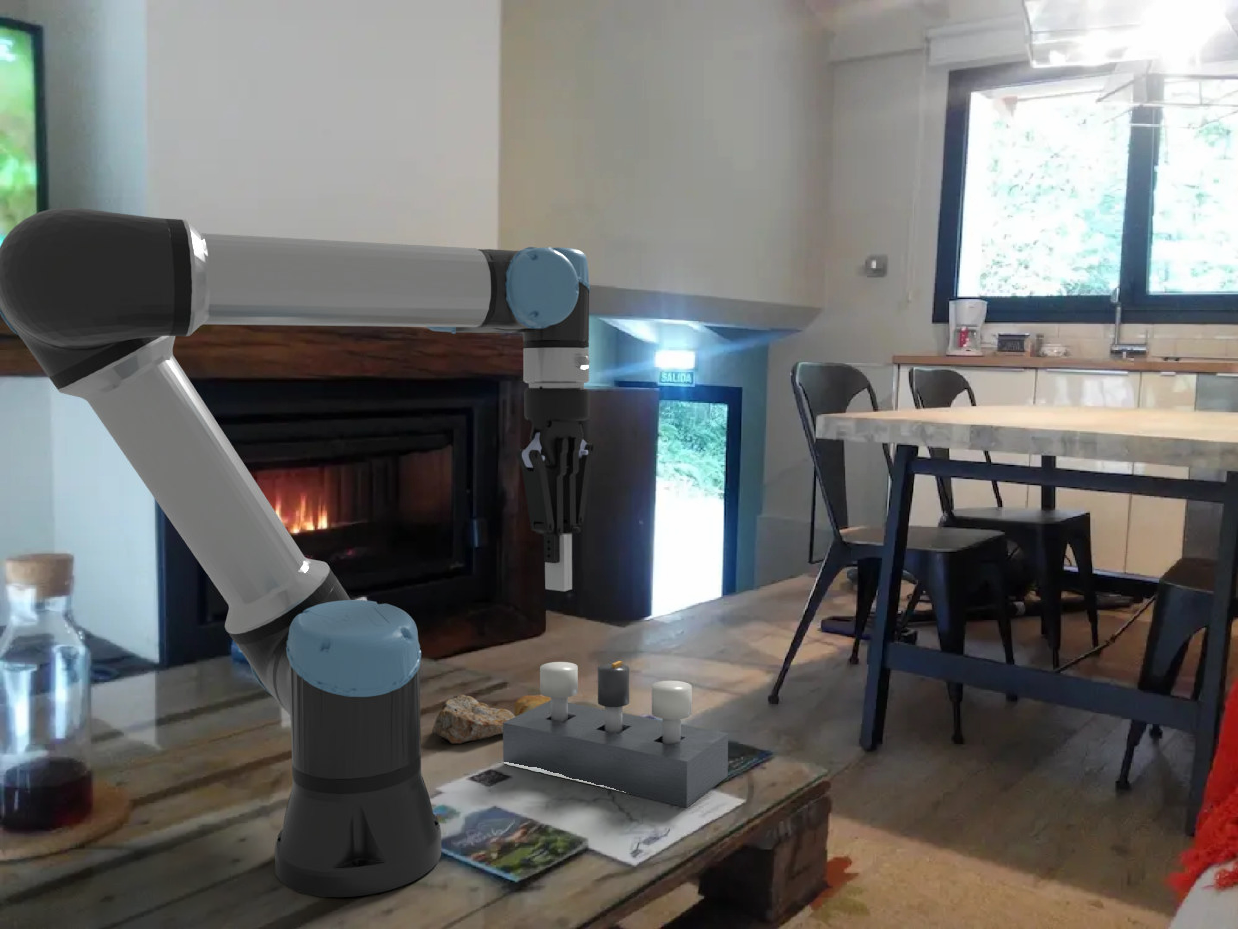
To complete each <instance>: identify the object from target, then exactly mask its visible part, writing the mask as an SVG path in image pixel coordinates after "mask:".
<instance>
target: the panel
mask: <svg viewBox="0 0 1238 929" xmlns="http://www.w3.org/2000/svg"><path fill="white" fill-rule="evenodd" d="M502 751H503V753H502V758H503V759H502V760H503V762H509V763H514V764H519V765H524V766H528V767H537V768H541V769H544V770H547V771H550V772H553V773H559V774H562V775H564V776H566V777H569V778H572V779H579V780H583V781H587V782H591V783H594V784H596V785H604V786H607V787H610V788H614V789H616V790H619V791H624V792H626V793H629V794H628V795H630V794H631V795H632V796H634V795H635V797H639V798H643V797H644V798H643V799H646V800H647V799H648V800H652V801H655V802H659V803H660V802H661V803H664V804H668V805H672V806H676V807H681V808H686V809H688V808H689V807H690V806H691V805H693V804H694V803H695V802H696V801H698V800H699V799H700V798H702V797H703V796H705V795H706V794H707V793H708V792H710V791H711V790H712V789H714V788H715V787H716V786H717V785H719V784H720V783H722V782H723V781H724V780H726V778H728V775H729V772H728V770H729V733H728V732H723V731H717V730H712V729H707V728H703V727H702V728H701V727H696V726H692V725H687V724H682V723H681V741H679V742H678V743H676V744H674V745H669V744H664V743H663V720H662V719H656V718H649V717H645V716H640V715H634V714H630V713H623V712H622V732H621V733H619V734H615V733H610V732H606V731H605V708H604V709H603V708H599V707H594V706H593V707H592V706H588V705H583V704H577V703H571V702H568V720H567V721H565V722H563V723H561V722H557V721H552V720H551V700H550V701H548V702H546V703H544V704H542V705H539V706H537V707H535V708H533V709H531V710H529V711H527V712H524V713H522V714H520V715H518V716H516V717H514V718H512V719H510V720H507V721H505V722H503V734H502ZM503 762H502V763H503ZM626 793H625V794H626ZM631 795H630V796H631Z"/></svg>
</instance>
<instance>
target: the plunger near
mask: <svg viewBox="0 0 1238 929" xmlns="http://www.w3.org/2000/svg"><path fill="white" fill-rule="evenodd" d="M692 690H693V686H692V685H691V684H690V683H688V682H685V681H681V680H662V681H661V680H660V681H656V682H653V684H651V715H652V716H653V717H655V718H658V719H660V720H662V721H663V743H664V744H669V745H674V744H676V743H678V742H679V741H681V724H682V723H681V721H682V720H683V719H686V718H690V717H691V716H692V711H693V710H692V709H693V708H692V706H693V705H692V704H693V701H692V700H693V698H692V697H693V695H692V693H693V692H692Z"/></svg>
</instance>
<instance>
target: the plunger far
mask: <svg viewBox="0 0 1238 929" xmlns="http://www.w3.org/2000/svg"><path fill="white" fill-rule="evenodd" d="M578 668H579V667H578V665H577V664H575V663H573V662H569V661H568V662H567V661H553V662H548V663H547V662H546V663H544V664H541V665H540V667H539V678H540V680H539V681H540V682H539V683H540V684H539V686H540V687H539V688H540V689H539V690H540V692H539V693H540V695H543V696H546V697H551V720H552V721H557V722H561V723H563V722H565V721H567V720H568V703H569V701H568V700H569V699H568V698H571V697H573V696H576V695H577V694H578V692H579V690H578V688H579V679H578V677H579V676H578V674H579V672H578V670H579V669H578Z"/></svg>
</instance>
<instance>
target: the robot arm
mask: <svg viewBox="0 0 1238 929" xmlns="http://www.w3.org/2000/svg"><path fill="white" fill-rule="evenodd" d="M588 265H589V264H588V258H587V256H586V254H585V253H584V252H583V251H581V250H579V249H575V248H571V247H546V246H545V247H532V246H531V247H530V246H528V247H525V248H523V249H521V250H508V249H507V250H506V249H490V248H488V249H487V248H486V249H482V248H481V249H479V248H478V249H477V248H475V247H473V248H472V247H457V246H439V245H438V246H436V245H420V244H419V245H418V244H403V243H402V244H401V243H384V242H382V243H381V242H366V241H365V242H364V241H348V240H330V239H328V240H327V239H326V240H325V239H310V238H309V239H308V238H291V237H276V236H275V237H274V236H255V235H239V234H238V235H237V234H222V233H221V234H220V233H203V232H202V233H201V232H200V231H198V230H197V229H196V228H194V226H193V225H192V224H190V223H189V221H187V220H186V219H181V218H180V219H178V218H165V217H164V218H162V217H153V216H152V217H151V216H142V215H135V214H126V213H117V212H110V211H103V210H99V209H98V210H97V209H90V208H82V207H59V208H50V209H47V210H46V209H45V210H42V211H39V212H36V213H34V214H33V215H30V216H28V217H26V218H24V219H23V220H21V221H20V222H19V223H17V225H15V226H14V227H13V228H12V229H11V230H10V231H9V232H8V233H7V235H6V236H5V237H4V239H3V240H2V242H1V244H0V316H1V318H2V319H3V321H4V322H5V323H6V325H7V326H8V327H9V329H10V330H11V331H12V332H13V333H14V334H16V335H17V336H19V338H20V339H21V340H22V342H23V343H24V344H25V345H26V347H27V349H28V350H29V351H30V353H31V355H32V356H33V357H34V358H35V360H36V361H37V362H38V364H39V366H40V367H41V369H42V370H43V371H44V373H45V375H47V376H48V379H49V380H50V381H51V383H52V384H53V386H54V387H55V388H56V390H57V391H58V392H59V393H61V394H63V395H69V396H73V397H77V398H81V399H83V400H85V401H87V403H88V404H89V406H90V407H91V409H92V410H93V411H94V413H95V414H96V416H97V418H98V419H99V420H100V422H101V424H103V426H104V428H105V429H106V431H108V433H109V435H110V436H111V437H112V438H113V441H114V442H115V443H116V445H117V447H119V449H120V450H121V452H122V453H123V455H124V457H125V458H126V459H127V461H128V462H129V464H130V465H131V466H132V467H133V470H134V471H135V472H136V474H137V476H138V477H139V478H140V479H141V481H142V483H143V484H144V485H145V487H146V488H147V490H148V491H149V492H150V494H151V495H152V497H153V498H154V500H155V501H156V502H157V504H158V506H159V507H160V508H161V510H162V511H163V512H164V514H165V515H166V517H167V518H168V519H169V521H170V522H171V524H172V525H173V527H174V528H175V530H176V531H177V532H178V534H179V535H180V538H182V540H183V541H184V542H185V544H186V546H187V547H188V548H189V550H190V551H191V553H192V554H193V556H194V557H195V559H196V560H197V562H198V563H199V564H200V566H201V567H202V569H203V570H204V571H205V573H206V574H207V575H208V578H209V579H210V580H211V582H212V583H213V585H214V586H215V588H216V589H217V590H218V592H219V593H220V595H221V596H222V597H223V599H224V601H225V602H226V603H227V605H228V611H227V615H226V620H225V622H224V628H225V631H226V632H227V633H228V635H229V636H230V638H231V639H232V640H233V642H234V643H235V645H236V647H237V648H238V649H239V651H241V654H242V655H243V656H244V657H245V659H246V660H247V662H248V664H249V666H250V669H251V672H252V675H253V676H254V678H255V679H256V681H257V682H258V683H259V685H260V686H261V687H262V688H263V689H264V690H265V691H266V692H267V693H269V694H270V695H271V696H272V697H273V698H274V699H275V700H276V701H277V702H278V703H279V705H280V706H281V707H282V709H284V710H285V711H286V712H287V714H288V715H289V717H290V730H291V731H290V734H291V735H290V736H291V738H290V740H291V763H292V764H291V769H292V772H291V773H292V787H291V791H290V795H289V797H288V801H287V805H286V809H285V813H284V819H283V824H282V829H281V830H280V832H279V833H278V835H277V838H276V841H275V845H274V868H275V875H276V877H277V879H278V880H279V881H280V883H282V884H283V885H284V886H286V887H287V888H289V889H291V890H294V891H296V892H299V893H302V894H305V895H310V896H317V897H323V898H324V897H325V898H326V897H327V898H349V897H351V898H352V897H361V896H362V897H363V896H368V895H373V894H374V895H375V894H380V893H383V892H387V891H391V890H395V889H397V888H400V887H403V886H405V885H408V884H410V883H412V882H414V881H416V880H419V878H421V877H423V876H425V875H426V874H427V873H429V872H431V870H432V869H433V868H434V867H435V866H436V865H437V864H438V862H439V861H440V859H441V856H442V829H441V825H440V822H439V819H438V817H437V816H436V814H435V813H434V810H433V805H432V802H431V797H430V795H429V792H428V789H427V786H426V783H425V780H424V777H423V775H422V757H421V756H422V752H421V751H422V746H421V745H422V744H421V743H422V742H421V735H422V734H421V729H422V728H421V678H420V676H421V673H420V672H421V671H420V670H421V669H420V666H421V662H422V661H421V659H422V650H421V649H420V648H421V645H420V643H419V635H418V628H417V624H416V622H415V620H414V619H413V618H412V616H410V615H409V613H408V612H406V611H405V610H403V609H401V608H399V607H397V606H395V605H392V604H389V603H377V601H373V600H363V599H351V598H350V596H349V595H348V594H347V591H346V590H345V588H344V587H343V586H342V584H341V583H340V581H339V579H338V577H337V576H336V575H335V574H334V573H333V571H332V569H331V568H330V566H329V565H328V563H327V562H325V561H321V560H316V559H311V558H307V557H305V555H304V554H303V552H302V551H301V549H300V548H299V546H298V545H297V543H296V541H295V540H294V539H293V537H292V535H291V534H290V533H289V531H288V530H287V528H286V526H285V524H284V523H283V522H282V520H281V519H280V517H279V516H278V514H277V513H276V511H275V510H274V508H273V507H272V505H271V503H270V501H269V500H268V499H267V498H266V496H265V494H264V492H263V491H262V489H261V488H260V486H259V485H258V482H256V480H255V479H254V477H253V476H252V474H251V473H250V471H249V469H248V468H247V466H246V465H245V464H244V462H243V460H242V459H241V457H240V456H239V454H238V452H237V451H236V450H235V448H234V446H233V445H232V442H230V440H229V439H228V437H227V436H226V434H225V433H224V431H223V430H222V428H221V427H220V425H219V424H218V423H219V422H217V421H216V419H215V417H214V415H213V414H212V412H211V411H210V410H209V408H208V406H207V405H206V403H205V402H204V400H203V399H202V397H201V396H200V394H199V393H198V392H197V390H196V388H195V387H194V385H193V384H192V382H191V380H190V379H189V378H188V376H187V375H186V373H185V371H184V370H183V368H182V367H181V366H180V364H179V362H178V361H177V359H176V357H175V356H174V352H173V350H174V348H173V347H174V344H175V340H176V337H190V336H191V335H192V334H193V333H194V332H195V331H196V330H198V328H200V327H201V326H202V325H223V326H224V325H226V326H227V325H228V326H229V325H237V326H238V325H241V326H243V325H244V326H247V325H248V326H316V327H317V326H320V327H321V326H324V327H325V326H327V327H329V326H330V327H331V326H334V327H335V326H336V327H342V326H343V327H344V326H345V327H421V328H423V327H424V328H427V329H428V330H431V331H433V332H440V333H441V332H443V333H445V332H446V333H451V334H453V335H454V334H456V333H470V334H471V333H475V334H478V333H479V334H481V333H482V334H483V333H484V334H488V333H489V334H492V333H494V334H495V333H503V334H504V333H512V334H522V340H523V346H522V347H523V353H522V354H523V360H522V361H523V377H522V379H523V382H524V383H526V384H528V387H527V388H525V390H524V391H523V400H524V402H523V405H524V406H523V408H524V409H523V410H524V412H523V414H524V418H525V419H526V421H530V422H531V423H532V425H531V426H532V427H531V430H530V435H529V441H530V443H529V444H528V446H527V447H526V448H525V449H521V448H519V449H517V451H516V456H515V457H516V459H517V461H518V464H519V466H520V469H521V471H522V472H521V473H522V478H523V479H522V480H523V484H524V490H525V491H524V492H525V497H526V504H527V509H528V517H529V523H530V524H529V525H530V528H531V530H532V531H534V532H535V533H536V534H539V535H540V534H541V535H542V536H543V559H544V560H543V561H544V580H545V582H544V583H545V586H544V587H545V590H550V591H557V592H559V591H560V592H567V591H570V590H573V559H572V558H573V533H574V534H575V533H578V534H579V533H580V532H581V530H582V527H581V526H582V525H583V524H584V521H585V515H586V507H587V500H588V490H589V480H590V473H591V466H592V461H593V458H594V455H595V452H596V445H595V444H594V443H587V442H586V440H584V431H583V428H582V421H586V420H588V419H589V418H590V415H591V412H590V411H591V408H590V404H591V403H590V400H591V398H590V396H591V395H590V393H591V392H590V390H589V388H586V387H585V384H586V383H588V382H590V361H591V360H590V355H589V354H590V353H589V347H590V344H589V343H590V342H589V341H590V293H591V287H590V275H589V273H590V272H589V266H588ZM578 525H579V526H578Z"/></svg>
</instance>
